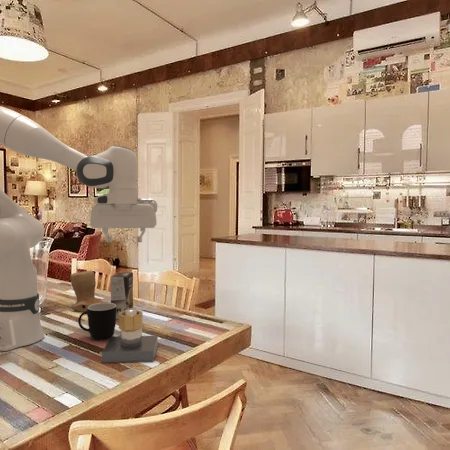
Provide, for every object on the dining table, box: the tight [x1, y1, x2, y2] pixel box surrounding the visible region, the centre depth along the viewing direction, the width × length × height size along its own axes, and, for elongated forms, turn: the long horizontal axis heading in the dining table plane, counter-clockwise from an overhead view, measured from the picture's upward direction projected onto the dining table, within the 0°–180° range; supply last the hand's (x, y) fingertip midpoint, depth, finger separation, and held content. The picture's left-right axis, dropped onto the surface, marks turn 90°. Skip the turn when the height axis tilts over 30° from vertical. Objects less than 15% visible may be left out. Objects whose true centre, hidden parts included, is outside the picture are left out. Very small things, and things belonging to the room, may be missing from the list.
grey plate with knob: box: [101, 307, 159, 364], centre depth 114 cm, size 14×12×13 cm
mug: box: [77, 302, 117, 341], centre depth 127 cm, size 12×9×10 cm
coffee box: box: [110, 272, 134, 320], centre depth 149 cm, size 9×6×16 cm
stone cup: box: [70, 270, 103, 313], centre depth 159 cm, size 15×12×15 cm
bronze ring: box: [118, 309, 144, 330], centre depth 113 cm, size 6×6×4 cm
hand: (124, 242), depth 124 cm, fingers open, 8 cm apart
